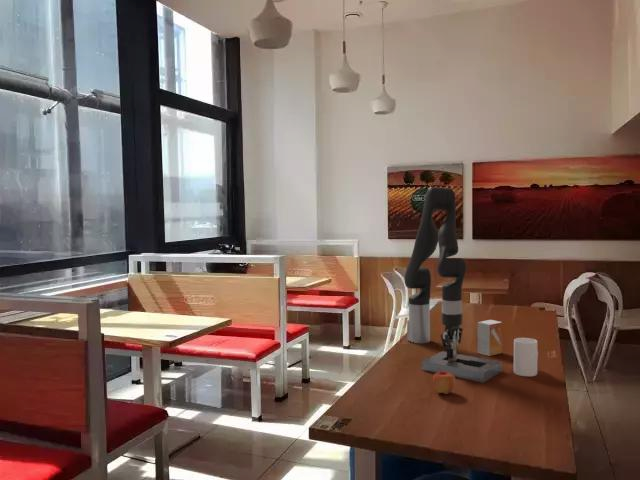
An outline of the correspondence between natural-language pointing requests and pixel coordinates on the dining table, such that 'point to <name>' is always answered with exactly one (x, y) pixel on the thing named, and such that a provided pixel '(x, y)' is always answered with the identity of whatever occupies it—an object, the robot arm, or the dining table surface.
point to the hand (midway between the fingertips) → (452, 356)
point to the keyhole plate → (463, 366)
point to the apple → (444, 382)
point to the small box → (490, 337)
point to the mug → (525, 356)
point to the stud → (453, 352)
